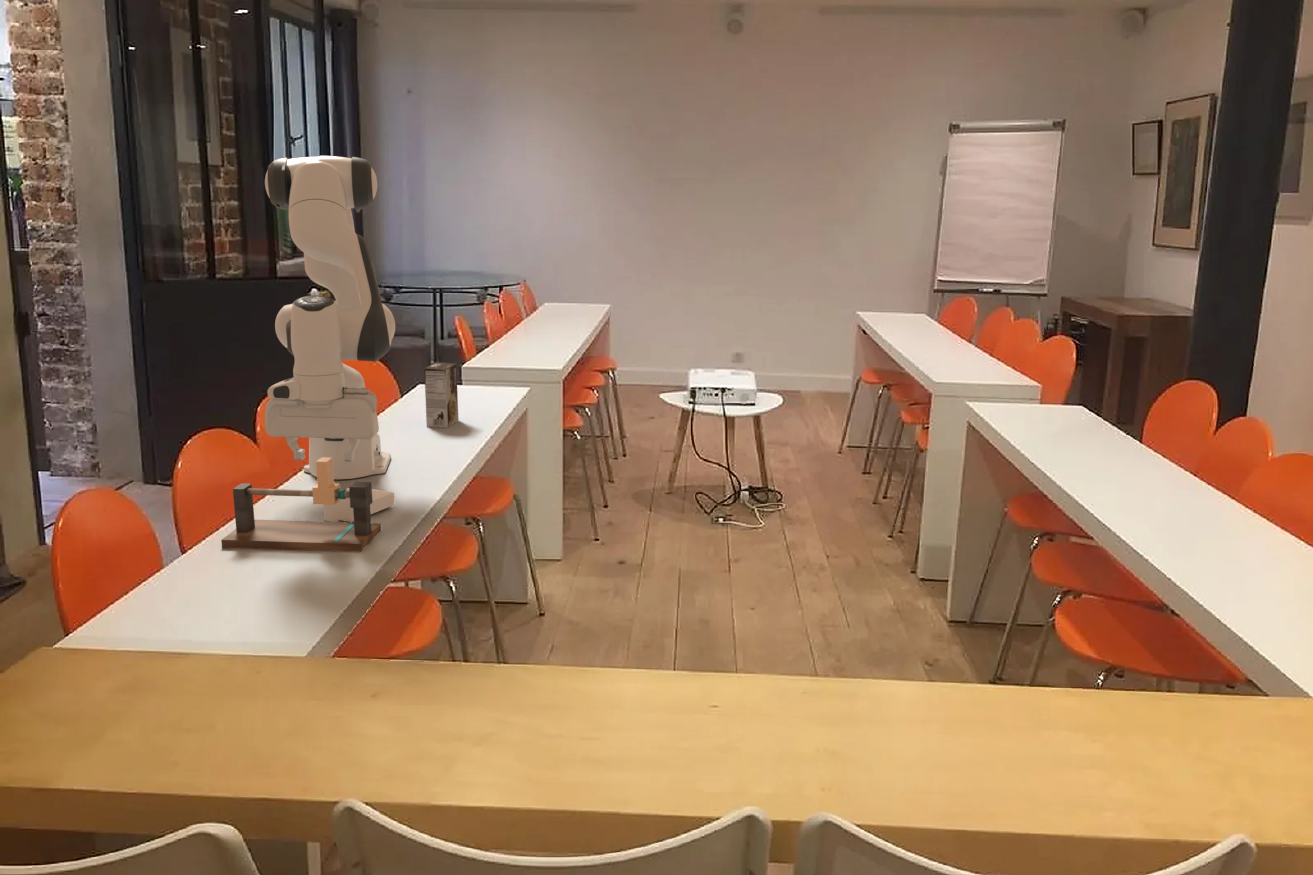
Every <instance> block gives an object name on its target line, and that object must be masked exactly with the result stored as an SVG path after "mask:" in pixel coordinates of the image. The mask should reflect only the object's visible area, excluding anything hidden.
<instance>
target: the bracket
mask: <svg viewBox="0 0 1313 875" xmlns="http://www.w3.org/2000/svg"><path fill="white" fill-rule="evenodd" d="M334 483H335V481H334ZM345 490H346V491H349V487H348V488H345ZM394 505H396V504H395V492H393V491H388V490H381V489H377V488H372V503H371V504H370V514H371V515H372V514H376V513H378V512H380V511H383V510H385V509H388V508H389V507H392V506H394ZM322 508H323V510H322V511H323V520H324V522H351V523H354V514H353V508H350V498H346V499H340V501H339V502H337V503H336V504H335V505H322Z"/></svg>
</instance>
